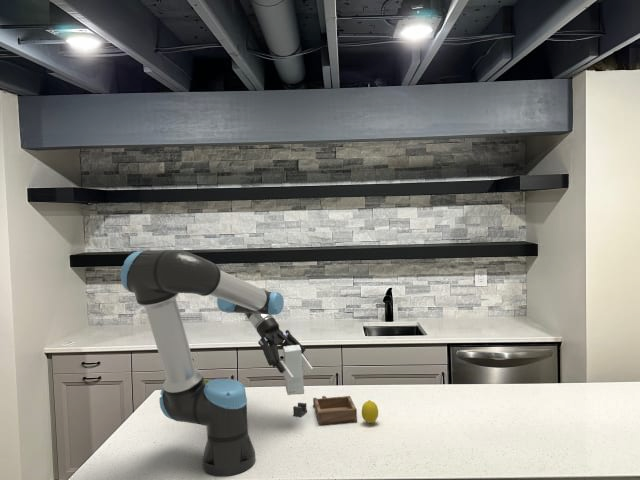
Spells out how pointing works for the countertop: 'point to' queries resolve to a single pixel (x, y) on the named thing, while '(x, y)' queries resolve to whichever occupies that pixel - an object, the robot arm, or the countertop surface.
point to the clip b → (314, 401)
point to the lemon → (369, 411)
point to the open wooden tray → (335, 410)
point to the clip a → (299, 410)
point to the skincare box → (294, 369)
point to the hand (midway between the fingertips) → (300, 375)
